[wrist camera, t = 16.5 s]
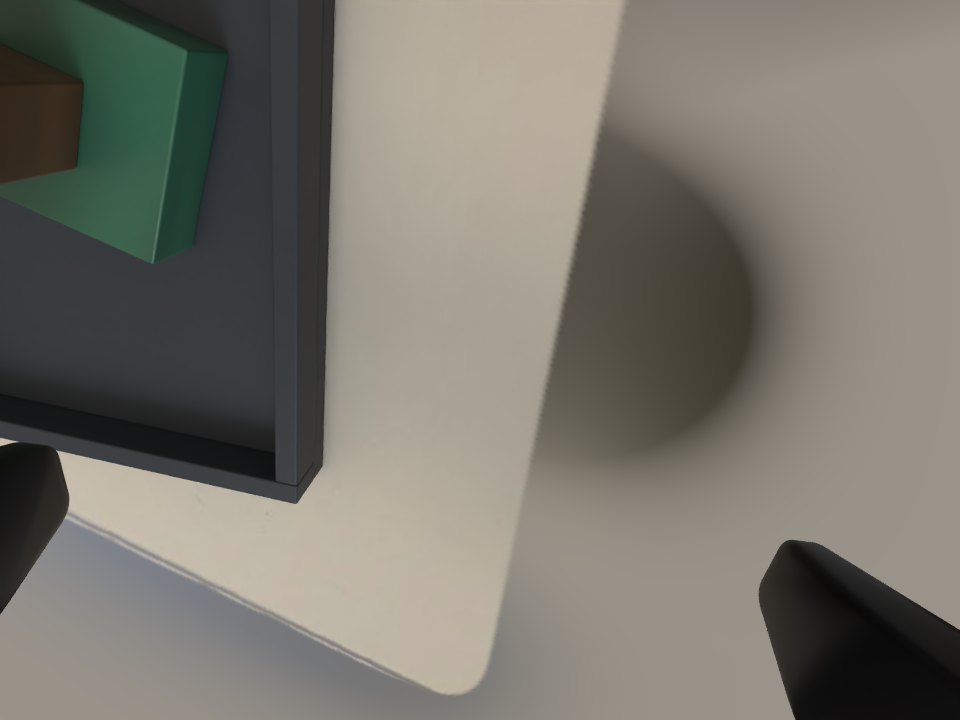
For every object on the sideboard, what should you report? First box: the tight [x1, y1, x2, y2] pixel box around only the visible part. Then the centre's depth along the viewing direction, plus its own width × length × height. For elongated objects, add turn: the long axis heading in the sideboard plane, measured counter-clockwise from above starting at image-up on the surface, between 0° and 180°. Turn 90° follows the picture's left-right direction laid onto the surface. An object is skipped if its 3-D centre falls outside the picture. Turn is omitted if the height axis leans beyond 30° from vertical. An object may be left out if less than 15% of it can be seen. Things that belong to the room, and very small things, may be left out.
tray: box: [0, 0, 334, 504], centre depth 18 cm, size 24×15×2 cm, turn 172°
